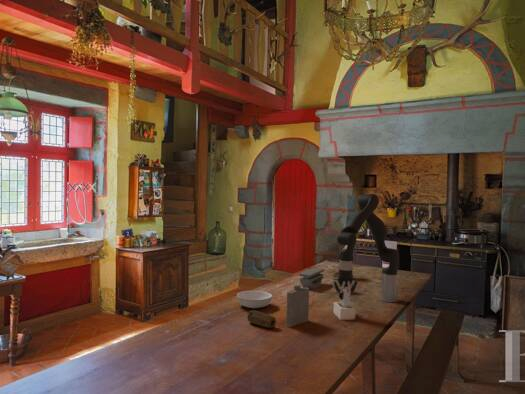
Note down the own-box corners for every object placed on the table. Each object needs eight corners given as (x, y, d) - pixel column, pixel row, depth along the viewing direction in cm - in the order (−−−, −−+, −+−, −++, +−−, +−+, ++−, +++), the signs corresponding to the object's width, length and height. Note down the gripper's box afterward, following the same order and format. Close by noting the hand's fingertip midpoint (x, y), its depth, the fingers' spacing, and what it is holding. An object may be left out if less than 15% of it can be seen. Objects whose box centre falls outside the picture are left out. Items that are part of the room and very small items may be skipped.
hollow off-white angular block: (347, 312, 227) (348, 301, 227) (355, 319, 215) (355, 308, 215) (333, 312, 226) (333, 302, 226) (340, 319, 214) (340, 308, 214)
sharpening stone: (309, 291, 271) (309, 275, 271) (298, 289, 275) (299, 273, 275) (323, 283, 292) (324, 269, 292) (313, 282, 297) (314, 267, 296)
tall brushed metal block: (345, 306, 224) (345, 288, 224) (349, 310, 217) (350, 292, 217) (339, 306, 224) (339, 288, 223) (343, 310, 217) (344, 292, 217)
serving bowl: (279, 306, 235) (279, 295, 235) (254, 314, 220) (254, 302, 219) (253, 299, 249) (254, 288, 249) (229, 305, 234) (229, 294, 234)
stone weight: (245, 324, 203) (245, 311, 203) (252, 320, 209) (253, 308, 209) (270, 330, 195) (270, 317, 195) (277, 326, 201) (277, 313, 201)
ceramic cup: (329, 292, 270) (330, 277, 270) (333, 288, 279) (333, 274, 279) (349, 294, 265) (349, 279, 265) (351, 290, 274) (352, 276, 274)
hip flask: (289, 327, 200) (290, 288, 199) (283, 325, 203) (284, 286, 202) (309, 320, 211) (310, 283, 211) (303, 318, 214) (304, 282, 213)
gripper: (355, 267, 225) (354, 297, 225) (331, 267, 223) (330, 297, 223) (360, 269, 217) (359, 301, 218) (335, 269, 215) (334, 301, 216)
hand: (344, 299), depth 220 cm, fingers closed on tall brushed metal block, 3 cm apart
